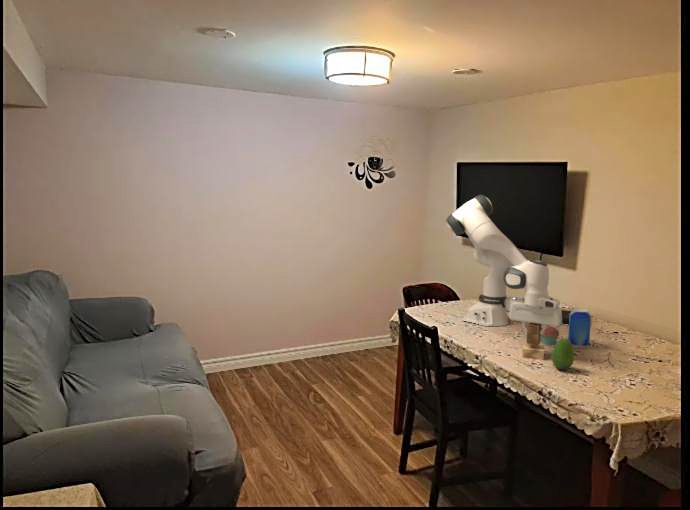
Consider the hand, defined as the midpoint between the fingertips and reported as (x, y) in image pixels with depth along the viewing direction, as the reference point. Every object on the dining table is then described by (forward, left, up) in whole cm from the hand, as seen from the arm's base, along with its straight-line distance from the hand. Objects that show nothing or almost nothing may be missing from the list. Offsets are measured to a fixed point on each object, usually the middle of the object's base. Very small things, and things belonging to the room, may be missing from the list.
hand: (534, 333), depth 214 cm
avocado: (+13, -10, -10) cm, 19 cm away
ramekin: (-27, +73, -10) cm, 78 cm away
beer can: (+13, +24, -10) cm, 29 cm away
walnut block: (0, 0, -4) cm, 4 cm away
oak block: (0, 0, -10) cm, 10 cm away
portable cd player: (+2, +66, -10) cm, 67 cm away
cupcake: (+1, +22, -10) cm, 24 cm away
